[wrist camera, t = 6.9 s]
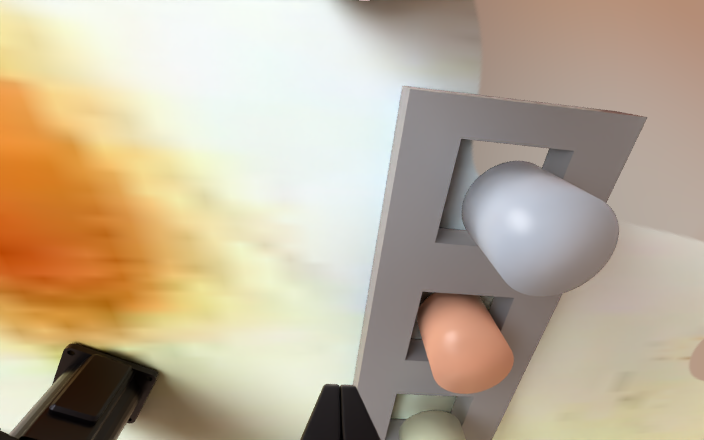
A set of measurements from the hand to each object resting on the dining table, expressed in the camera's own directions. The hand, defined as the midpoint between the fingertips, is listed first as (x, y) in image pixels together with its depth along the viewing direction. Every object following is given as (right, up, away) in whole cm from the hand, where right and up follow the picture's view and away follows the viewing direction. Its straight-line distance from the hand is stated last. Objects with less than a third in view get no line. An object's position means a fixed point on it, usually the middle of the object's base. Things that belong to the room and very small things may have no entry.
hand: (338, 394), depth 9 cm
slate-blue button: (+8, +5, +8) cm, 13 cm away
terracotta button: (+7, -2, +15) cm, 17 cm away
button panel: (+7, -2, +15) cm, 17 cm away
